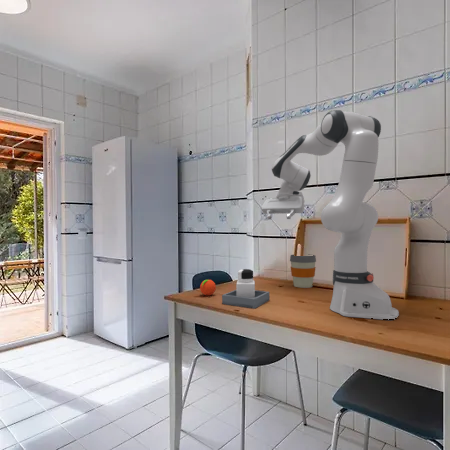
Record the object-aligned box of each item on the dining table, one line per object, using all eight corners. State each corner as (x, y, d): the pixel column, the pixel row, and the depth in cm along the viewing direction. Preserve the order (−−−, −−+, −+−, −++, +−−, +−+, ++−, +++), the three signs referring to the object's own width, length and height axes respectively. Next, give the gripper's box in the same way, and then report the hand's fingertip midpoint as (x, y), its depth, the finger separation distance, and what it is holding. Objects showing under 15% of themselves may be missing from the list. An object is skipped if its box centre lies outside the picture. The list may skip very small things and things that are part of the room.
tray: (269, 300, 133) (269, 291, 132) (254, 308, 121) (254, 299, 120) (239, 296, 140) (239, 288, 140) (222, 303, 128) (222, 295, 128)
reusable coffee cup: (320, 285, 161) (320, 255, 161) (308, 289, 152) (307, 257, 152) (298, 282, 170) (298, 253, 170) (285, 286, 161) (284, 255, 161)
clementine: (209, 298, 137) (208, 281, 137) (195, 296, 140) (195, 280, 140) (218, 294, 144) (218, 278, 144) (205, 293, 147) (205, 277, 147)
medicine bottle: (254, 297, 133) (254, 268, 133) (254, 302, 126) (254, 271, 126) (237, 297, 134) (237, 268, 134) (236, 301, 127) (236, 271, 127)
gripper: (264, 194, 161) (255, 213, 153) (305, 192, 150) (298, 212, 142) (267, 203, 165) (259, 223, 157) (307, 202, 154) (301, 223, 146)
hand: (278, 218), depth 149 cm, fingers open, 8 cm apart
